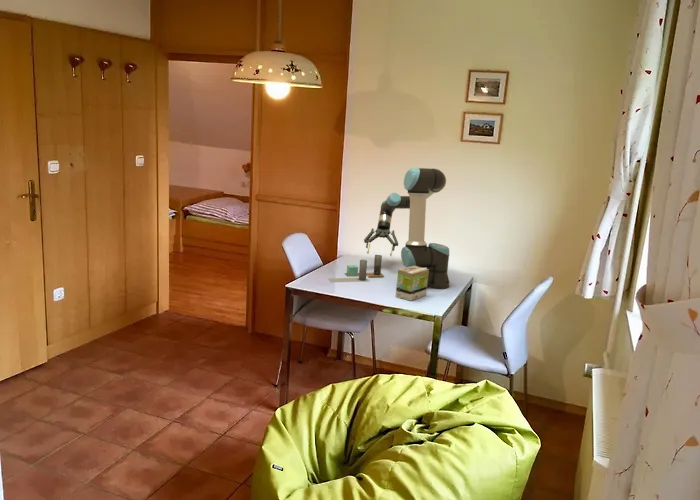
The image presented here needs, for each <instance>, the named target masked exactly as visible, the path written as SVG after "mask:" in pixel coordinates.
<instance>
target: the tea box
mask: <svg viewBox="0 0 700 500" xmlns="http://www.w3.org/2000/svg"><path fill="white" fill-rule="evenodd" d="M428 275H429V269H427V268H422V267H418V266H411V267H405V268H404V267H403V268H400V269H398V270H397V278H396V287H395V289H396V290H395V297H396V298H400V299H403V300H406V301H410V302H412V301H414V300H416V299H419V298H422V297H425V296H427V292H428V287H427V283H428Z"/></svg>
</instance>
